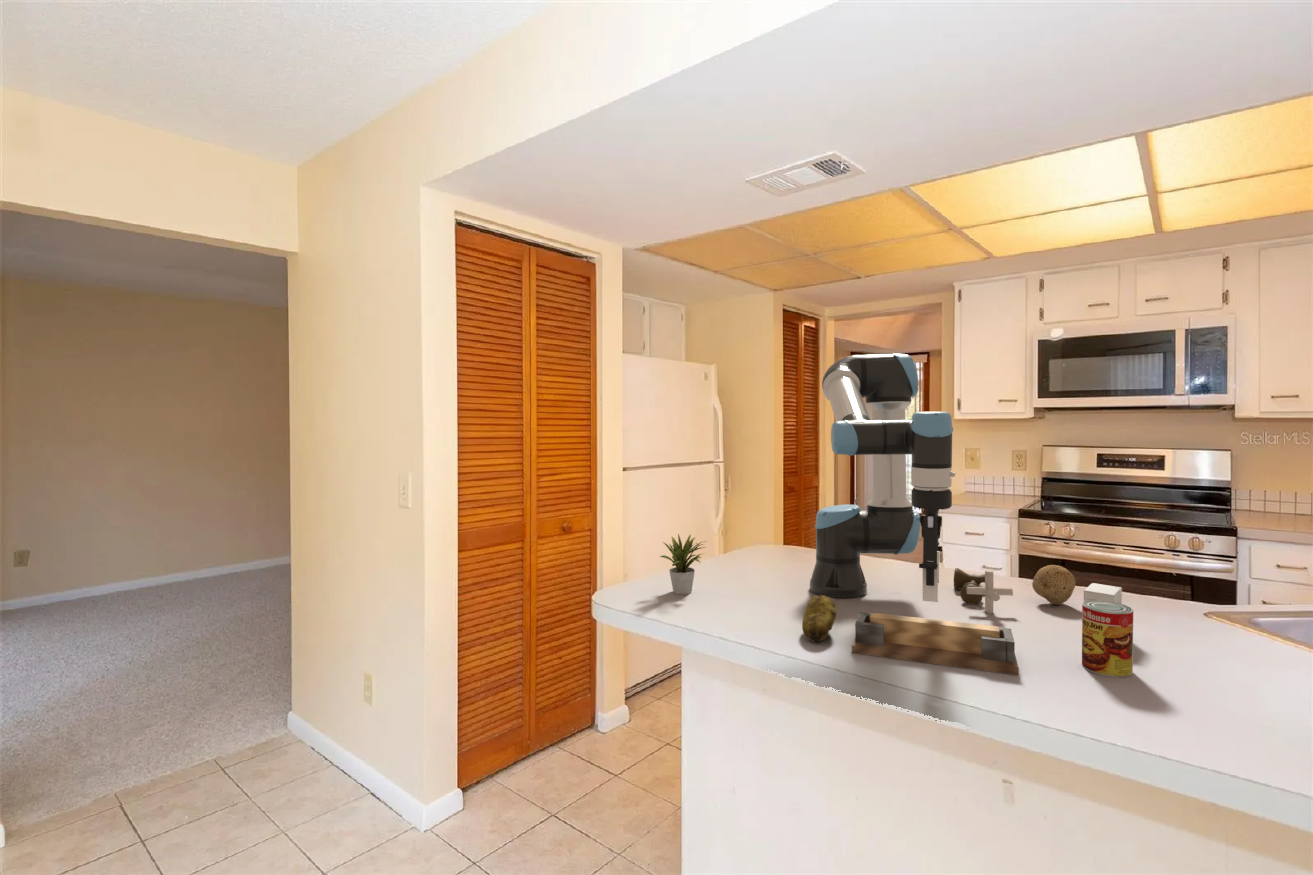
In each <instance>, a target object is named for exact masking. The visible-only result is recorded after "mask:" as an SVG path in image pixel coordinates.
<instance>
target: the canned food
mask: <svg viewBox="0 0 1313 875" xmlns="http://www.w3.org/2000/svg"><path fill="white" fill-rule="evenodd" d="M1081 604H1082V605H1081V606H1082V607H1081V609H1082V610H1081V611H1082V612H1081V622H1082V623H1081V666H1082V667H1083V668H1084V669H1086V670H1087V671H1089V672H1092V673H1094V674H1097V675H1100V676H1104V677H1111V678H1112V677H1113V678H1128V677H1130V676H1133V674H1134V673H1133V672H1134V671H1133V670H1134V669H1133V667H1134V609H1133V607H1132V606H1129V605H1126V604H1123V603H1122V604H1120V603H1115V602H1110V601H1101V600H1090V601H1085V602H1084V601H1083V602H1082V603H1081Z"/></svg>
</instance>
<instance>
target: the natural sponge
mask: <svg viewBox="0 0 1313 875" xmlns="http://www.w3.org/2000/svg"><path fill="white" fill-rule="evenodd" d="M1031 583H1032V584H1031V585H1032V588H1033V591H1034V592H1035V593H1036V594H1037V595H1039V596H1040V597H1041V598H1044V599H1045V600H1046V601H1048V603H1051V605H1055V606H1060V605H1062V604H1064V603H1066V602H1067V601H1068V600H1069V599H1070V598H1071V597H1072V595H1073V592H1074V590H1075V588H1076V578H1075V576H1074V575H1073V573H1072V572H1071V571H1070V570H1069V569H1067V568H1065V567H1064V566H1061V565H1056V564H1049V565H1046V566H1043V567H1041V568H1039V569H1038V570H1037V572H1036V573H1035V575H1034V577H1033V580H1032V582H1031Z"/></svg>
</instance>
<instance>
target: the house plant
mask: <svg viewBox="0 0 1313 875" xmlns="http://www.w3.org/2000/svg"><path fill="white" fill-rule="evenodd" d="M677 539H678V540H677V541H678V542H677V541H676V538H674V537H673V536H671V542H672V544H671V543H668V544H667V543H666V542H664V541H662V543H663V544H664V545H665V546H666V548H667V549H668V550H669V551H670V553H671V555H672V556H671V557H670V556H667V555H665V554H664V555H660V556H659V558H664V559H667V560H669V561H670V562H671V563H672V564H671V565H672V567H671V568H669V570H668V571H669V576H670V582H671V586H672V592H673V594H676V595H679V596H680V595H682V596H683V595H690V594H691V593H692V591H693V584H694V579H695V572H696V571H695V568H693V567H691V566H690V565H692V564H693V563H694V562H695V561H696V562H699V563H701V561H700V559H702V556H700V555H702V553H699V554H693V553H694V552H696V551H697V550H701V549H705V548H706V546H703V545H705V544H704V543H706V542H707V540H704V541H701V542H698V543H697V542H696V543H695V544H694V543H693V542H694V540H695V539H696V537H693V538H691V534H689V535H688V537H687V538H686V541H685V542H684V545H683V543H682V540H681V536H680V535H679V533H677ZM702 543H703V544H702ZM701 546H703V547H701ZM705 553H706V552H705ZM705 553H703V555H704V554H705ZM705 555H706V554H705ZM694 556H695V557H694Z"/></svg>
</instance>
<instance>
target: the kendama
mask: <svg viewBox="0 0 1313 875" xmlns="http://www.w3.org/2000/svg"><path fill="white" fill-rule="evenodd" d="M982 582H984V583H985V573H984V574H975V573H973V574H970V573H966V572H965V571H963V570H962V569H960V568H958V567H955V569H954V573H953V589H954V590H955V591H959V590H960V599H961V600H962V602H964V603H966V604H968V605H978V604H980V603H981V602H982V600H983V598H984V595H979V594H967V592H966V587H979V585H980V583H982Z"/></svg>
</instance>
